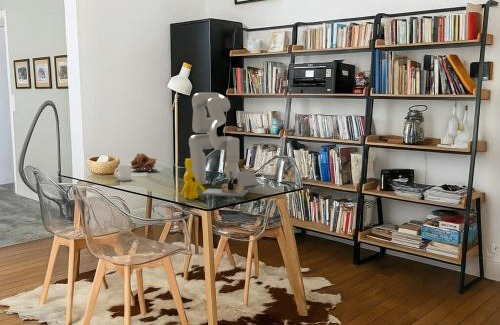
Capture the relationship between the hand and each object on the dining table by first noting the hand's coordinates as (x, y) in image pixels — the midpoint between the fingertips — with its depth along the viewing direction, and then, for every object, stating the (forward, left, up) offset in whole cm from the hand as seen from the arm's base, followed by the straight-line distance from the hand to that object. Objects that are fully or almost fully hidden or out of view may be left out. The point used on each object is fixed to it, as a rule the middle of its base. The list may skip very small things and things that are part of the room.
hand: (232, 188), depth 302 cm
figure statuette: (-19, -17, -3) cm, 26 cm away
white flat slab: (-5, 0, -3) cm, 6 cm away
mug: (-85, +30, -3) cm, 90 cm away
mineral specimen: (-89, +73, -4) cm, 115 cm away
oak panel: (0, 0, -2) cm, 2 cm away
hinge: (0, +30, -4) cm, 30 cm away
